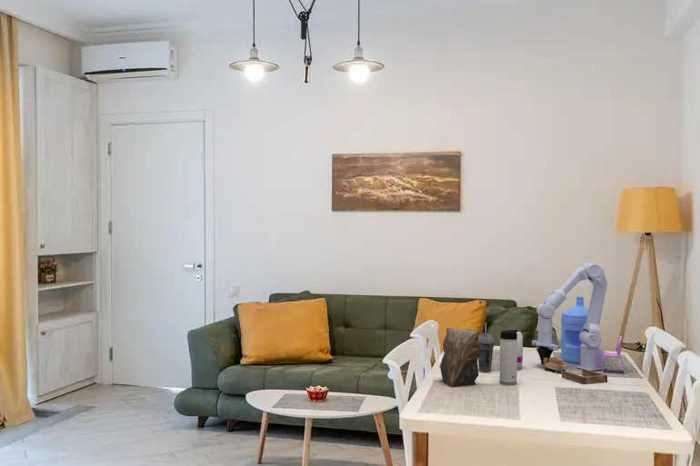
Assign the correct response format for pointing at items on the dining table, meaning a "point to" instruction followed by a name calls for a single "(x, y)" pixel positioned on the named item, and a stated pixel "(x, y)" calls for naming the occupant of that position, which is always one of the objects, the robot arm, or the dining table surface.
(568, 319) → the water jug
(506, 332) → the travel mug
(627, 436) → the dining table surface
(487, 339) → the beverage cup
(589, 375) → the bay
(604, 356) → the toy chair
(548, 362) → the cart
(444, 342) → the brown rough lump
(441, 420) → the dining table surface
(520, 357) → the supplement can
